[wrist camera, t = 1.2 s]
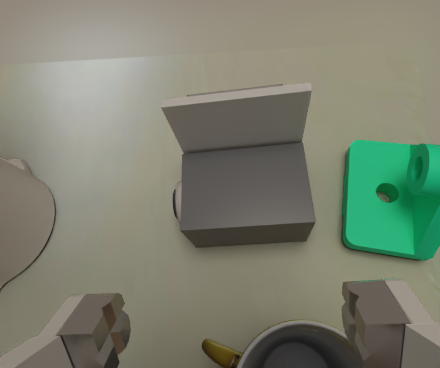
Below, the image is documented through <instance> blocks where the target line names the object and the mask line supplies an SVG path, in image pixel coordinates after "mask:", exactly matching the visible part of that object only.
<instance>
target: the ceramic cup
mask: <svg viewBox="0 0 440 368" xmlns="http://www.w3.org/2000/svg"><path fill="white" fill-rule="evenodd" d="M202 349H203V351H204V352H205V354H206V355H207V356H208V357H210V358H211V359H212V360H213V361H214V362H215V363H217V364H218V365H220V366H221V367H223V368H358V367H357V364H356V361H355V359H354V347H353V346H352V345H351V344H350V343H348V340H347V337H346V334H345V333H343V332H342V331H340V330H338V329H336V328H334V327H332V326H330V325H327V324H324V323H321V322H317V321H311V320H290V321H285V322H282V323H279V324H276V325H274V326H272V327H270V328H268V329H266V330H265V331H263V332H262V333H260V334H259V335H258V336H257V337H256V338H255V339H254V340H253V341H252V342H251V343H250V344H249V346H248V347H247V348H246V350H245V351H244V353H240V352H238V351H235V350H233V349H231V348H228V347H226V346H224V345H222V344H219V343H217V342H215V341H212V340H210V339H205V340H204V341H203V343H202Z"/></svg>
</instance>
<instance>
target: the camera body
mask: <svg viewBox="0 0 440 368" xmlns="http://www.w3.org/2000/svg"><path fill="white" fill-rule="evenodd" d="M173 209H174V214H175V217H176V218H177V219H178V220H179V223H180V231H181V232H182V233H183V234H184V235H185V236H186V237H187V238H188V239H189V240H190V241H191V242H192V243H193V244H194V245H195V246H196V247H212V246H229V245H246V244H263V243H280V242H298V241H306V240H307V238H308V236H309V234H310V232H311V230H312V228H313V226H314V224H315V222H316V221H315V215H314V209H313V203H312V197H311V190H310V184H309V178H308V172H307V166H306V160H305V153H304V147H303V143H295V144H285V145H274V146H263V147H253V148H242V149H232V150H221V151H211V152H200V153H189V154H182V181H179V182H178V183H177V186H176V189H175V190H174V193H173Z"/></svg>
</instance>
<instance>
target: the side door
mask: <svg viewBox="0 0 440 368" xmlns="http://www.w3.org/2000/svg"><path fill="white" fill-rule="evenodd" d="M311 92H312V90H311V84H310V83H302V84H293V85H284V86H283V84H278V85H270V86H261V87H253V88H244V89H236V90H227V91H219V92H210V93H202V94H193V95H187V97H182V98H173V99H164V100H162V103H161V108H162V110H163V112H164V114H165V116H166V118H167V120H168V122H169V124H170V126H171V128H172V130H173V132H174V134H175V136H176V139H177V141H178V143H179V145H180V147H181V149H182V151H183V153H184V154H189V153H200V152H211V151H221V150H232V149H242V148H253V147H263V146H274V145H285V144H295V143H302V138H303V133H304V128H305V122H306V117H307V112H308V107H309V102H310V97H311Z"/></svg>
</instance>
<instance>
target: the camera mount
mask: <svg viewBox="0 0 440 368" xmlns="http://www.w3.org/2000/svg"><path fill="white" fill-rule="evenodd" d="M376 192H382V193H384V194H386V195H387V196H388V197H389V199H390V203H387V202H384V201H382V200H380V199H379V198H378V196H377V194H376ZM342 216H343V235H342V239H343V242H344V244H345V245H346V246H347V247H349V248H351V249H357V250H363V251H369V252H375V253H381V254H387V255H393V256H399V257H406V258H412V259H418V260H424V261H425V260H428V259H430V258H433V256H434V254H435V252H436V251H437V249H438V247H439V245H440V145H432V144H419V145H409V144H398V143H387V142H377V141H366V140H356V141H354V142H352V143H351V145H350V147H349V149H348V151H347V158H346V174H345V176H344V183H343V202H342Z"/></svg>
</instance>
